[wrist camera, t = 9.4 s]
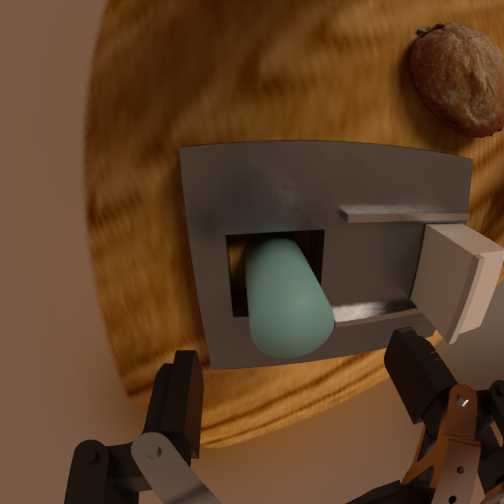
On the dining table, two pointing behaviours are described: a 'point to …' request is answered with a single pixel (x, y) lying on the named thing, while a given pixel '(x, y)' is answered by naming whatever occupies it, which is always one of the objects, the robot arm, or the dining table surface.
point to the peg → (284, 298)
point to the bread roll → (460, 77)
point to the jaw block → (456, 278)
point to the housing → (319, 232)
